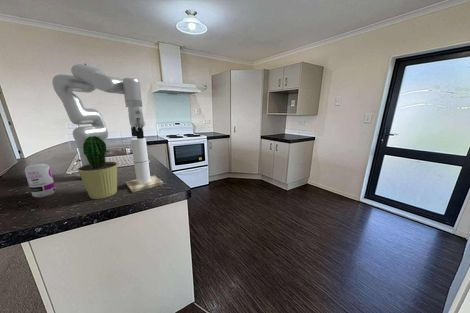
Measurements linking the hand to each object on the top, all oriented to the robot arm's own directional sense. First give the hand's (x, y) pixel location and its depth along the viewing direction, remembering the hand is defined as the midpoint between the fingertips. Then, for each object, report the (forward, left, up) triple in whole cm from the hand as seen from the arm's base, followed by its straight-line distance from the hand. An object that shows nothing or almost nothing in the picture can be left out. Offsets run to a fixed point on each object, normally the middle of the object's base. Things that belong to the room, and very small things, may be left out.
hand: (137, 137), depth 94 cm
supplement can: (-41, +20, -27) cm, 53 cm away
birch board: (0, 0, -27) cm, 27 cm away
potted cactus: (-19, +1, -27) cm, 33 cm away
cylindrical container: (0, 0, -26) cm, 26 cm away
